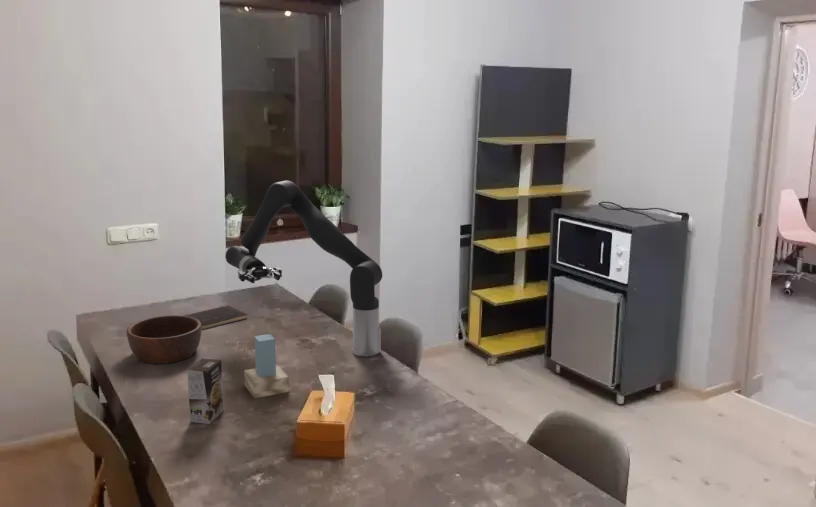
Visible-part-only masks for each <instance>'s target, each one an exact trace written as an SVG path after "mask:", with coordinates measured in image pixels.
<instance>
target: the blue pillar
mask: <svg viewBox="0 0 816 507" xmlns="http://www.w3.org/2000/svg"><path fill="white" fill-rule="evenodd" d="M254 360H255V368H256V373H257V374H258V375H259V377H260V378H262V377H267V376H273V375H276V365H277V363H276V362H277V361H276V360H277V358H276V338H274V336H273V335H272V334H271V333H267V334H260V335H254Z"/></svg>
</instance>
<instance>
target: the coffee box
mask: <svg viewBox="0 0 816 507" xmlns="http://www.w3.org/2000/svg"><path fill="white" fill-rule="evenodd" d="M222 367H223V366H222V359H215V358H214V359H213V358H200V360H198V361H197V362H195V363H194V364H193V365H192V366H190V367H189V368H187V385H188V386H187V387H188V388H187V389H188V390H187V391H188V406H189V408H188V409H189V422H190V423H197V424H204V425H210V424H212V423H213V421H215V420H216V419H217V418H218V417H219V416H220V415H221V414H222V413H223V412H224V410H225V409H224V407H225V406H224V391H223V390H224V389H223V369H222Z"/></svg>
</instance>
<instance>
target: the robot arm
mask: <svg viewBox="0 0 816 507" xmlns="http://www.w3.org/2000/svg"><path fill="white" fill-rule="evenodd" d="M287 207H288V208H289V209H290V210H292V211H293V213H295V215H297V216H298V217H299V219H300V220H301V222H302V223H303V226H304V228H305V230H306V232H307V235H308V236H309V238H311V240H312V241H313V242H314V243H315V244H316V245H317V246H318V247H320V249H322V250H323V251H325V252H326V253H328V254H329V255H333V256H334V257H336V258H338V259H339V260H341V261H343V262H345V263H346V264H347V265H348V266H349V267H350V268H351V272H350V275H349V286H350V287H349V290H350V294H349V295H350V299H351V300H350V301H351V302H352V353H353V354H354V355H355V356H358V357H363V358H364V357H365V358H366V357H368V358H369V357H373V356H376V355H378V354H380V353H382V352H381V351H382V350H381V348H382V346H381V345H382V343H381V342H382V335H381V334H382V328H381V326H379V324H380V321H379V320H380V318H379V315H380V314H379V310H380V309H379V305H380V302H379V301H380V300H379V298H378V297H376V295H375V294H376V293H375V291H376V289H375V286H376V285H377V284H379V283H380V282H381V281H382V279H383V269H382V268H381V266H380V265H379V263H377V262H376V261H375V260H374V259H373V258H372V257H370V256H369V255H368V254H367V253H365V252H364V251H363V250H361V249H360V248H359V247H357V245H355V243H354V242H353V241H352V240H351V239H350V238H348V237H347V236H346V235H345V234H344V233H343V232H342V230H340V229H339V228H338V226H336V225H335V223H333V222H332V221H331V220H330V219H329V218H328V217H327V216H326V215H325V214H324V213H323V212H322V211H320V210H319V208H318V207H316V206H315V205H314V204H313V203H312V201H311V200H309V198H308V196H306V195H305V193H303V191H302V190H301V188H299V186H297V184H296V183H294V182H293V181H291V180H282V181H277V182H274V183H272V184H271V185H270V186H269V187H268V189H267V190H266V193H265V195H264V198H263V200H262V202H261V204H260V206H259V209H258V211H257V212H256V215H255V216H254V218H253V220H252V222H251V223H250V224H249V226H248V228H247V229H246V230H245V232H244V233H243V235H242V237H241V238H240V243H241V245H242V246H243V247H244V248H242V247H239V246H237V245H232V246H230V247H228V249H227V250H226V252H225V256H224V257H225V261H226V262H227V264H229V265H231V266H232V267H234V268H236V269H238V270H237V278H238V279H239V280H240V281H241V282H245V281H246V282H249V283H251V284H255V282H256V281H261V280H262V279H272V278H273V279H275V281H280V280H281V278H282V277H283V274H282V272H283V270H282V269H281V268H280V267H279V266H276V265H274V266H272V267H273V268H271V267H267V266H266V264H265V262H263V261H262V260H261V259H259V258H258V257H256V255H257V252H258V249H259V247H260V246H261V244H262V243H263V241H264V240H265V238H266V237H267V235H268V232H269V230H270V226H271V224H272V221H273V219H274V217H275V216H276V215H277V214H278V212H280V211H281V209H282V208H287Z"/></svg>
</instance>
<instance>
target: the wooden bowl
mask: <svg viewBox="0 0 816 507" xmlns="http://www.w3.org/2000/svg"><path fill="white" fill-rule="evenodd" d="M201 327H202V325H201V322H200V321H199V320H197V319H195V318H192V317H188V316H184V315H180V314H179V315H175V314H174V315H171V314H170V315H157V316H154V317H153V316H152V317H148V318H144V319H141V320H138V321H136V322H134V323H132V324H130V325H129V326H128V327H127V328H126V337H127V341H128V344H129V348H130V351H131V352H132V354H133V355H134V356H135V357H136V359H137V360H139V361H141V362H143V363H148V364H154V365H155V364H156V365H157V364H171V363H177V362H180V361H183V360H186V359H187V358H190V357H192V356H193V355H194V354H195V352H197V349H198V348H199V346H200V342H201V336H202V329H201Z"/></svg>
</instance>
